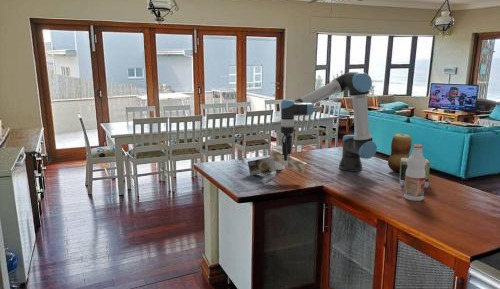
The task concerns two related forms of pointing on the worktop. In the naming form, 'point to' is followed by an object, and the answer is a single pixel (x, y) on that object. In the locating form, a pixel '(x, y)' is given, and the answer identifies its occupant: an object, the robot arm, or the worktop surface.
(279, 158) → the beech stick
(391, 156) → the butternut squash
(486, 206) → the worktop surface
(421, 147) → the fruit juice
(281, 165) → the cup
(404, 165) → the tea box
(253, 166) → the coffee box
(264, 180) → the stop batten
